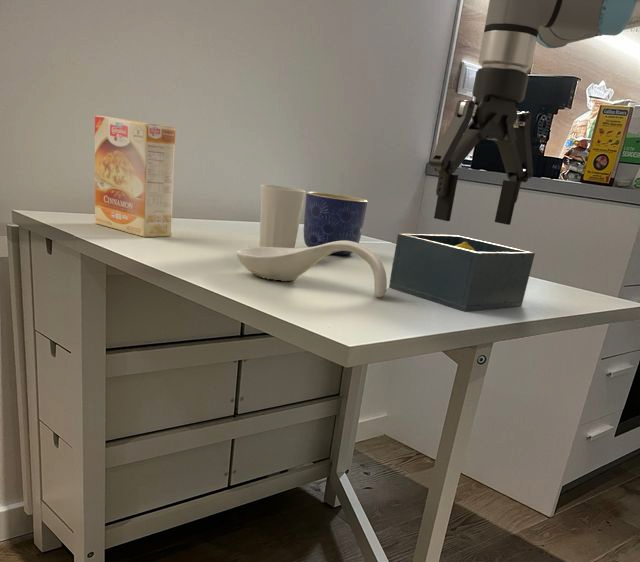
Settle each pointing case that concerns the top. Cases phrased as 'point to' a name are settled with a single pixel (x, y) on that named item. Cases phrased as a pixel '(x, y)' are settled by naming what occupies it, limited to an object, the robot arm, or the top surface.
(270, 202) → the cup
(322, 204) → the planter
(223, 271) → the top surface
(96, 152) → the coffeecake box
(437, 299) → the dark grey open box
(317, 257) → the spoon rest
